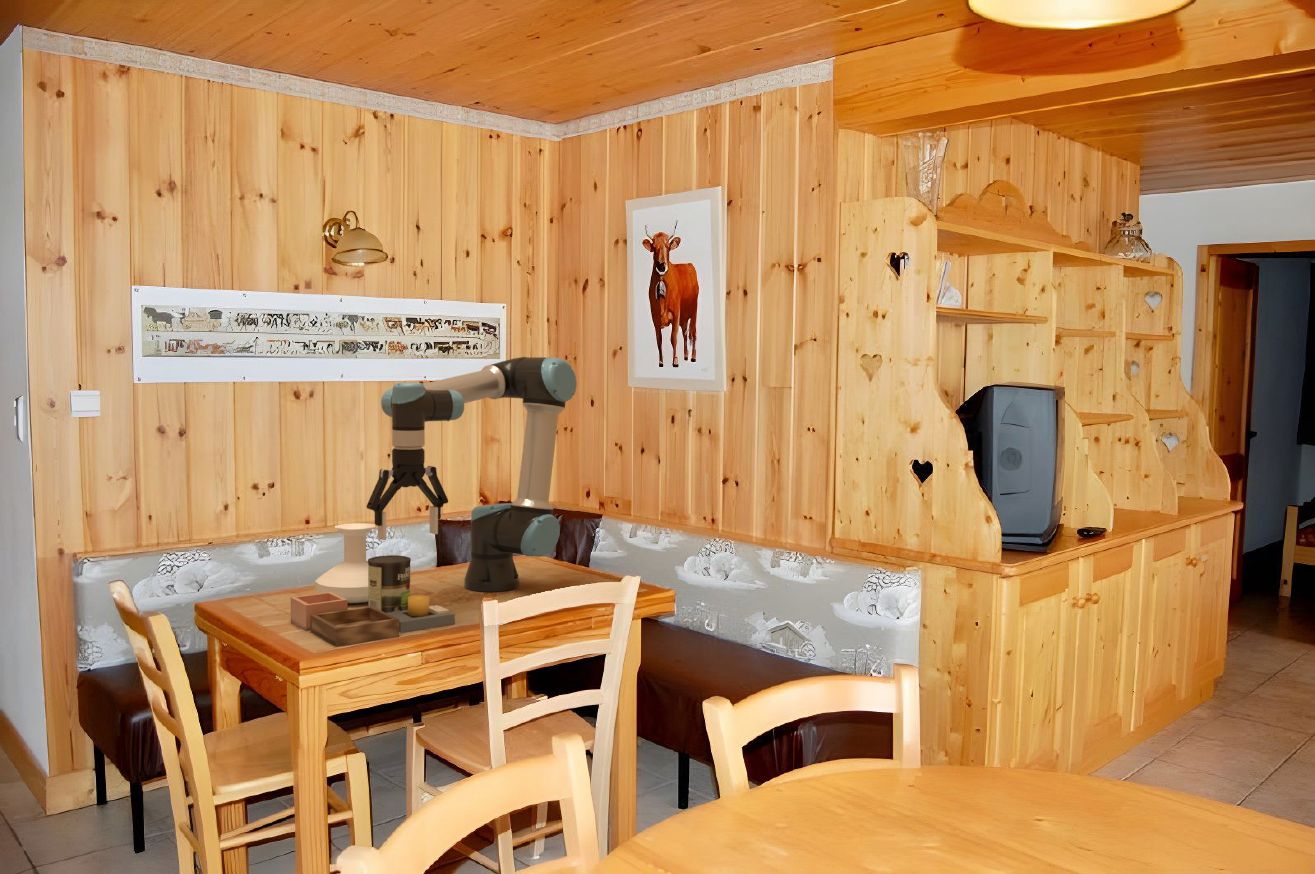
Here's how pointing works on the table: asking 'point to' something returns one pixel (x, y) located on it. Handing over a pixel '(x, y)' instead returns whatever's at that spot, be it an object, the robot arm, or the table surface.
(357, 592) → the candle holder
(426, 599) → the button
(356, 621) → the dark wooden tray
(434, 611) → the base
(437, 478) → the robot arm
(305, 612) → the terracotta square planter
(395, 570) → the coffee can
